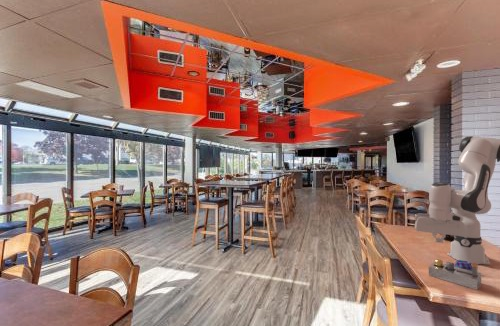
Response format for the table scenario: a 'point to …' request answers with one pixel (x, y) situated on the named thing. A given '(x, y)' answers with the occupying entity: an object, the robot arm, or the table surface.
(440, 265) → the button brass
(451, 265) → the button slate
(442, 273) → the panel
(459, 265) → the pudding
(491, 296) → the table surface
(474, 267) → the slider
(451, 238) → the coffee mug
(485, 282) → the table surface
